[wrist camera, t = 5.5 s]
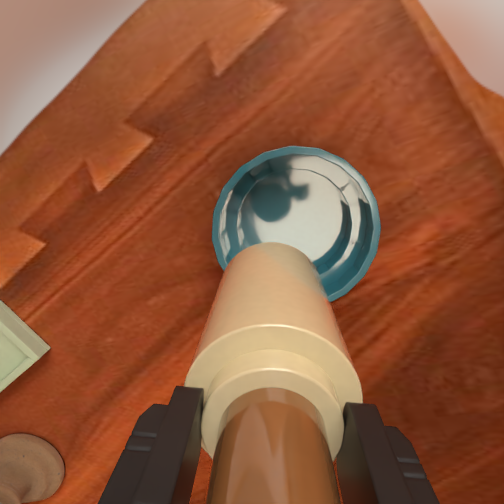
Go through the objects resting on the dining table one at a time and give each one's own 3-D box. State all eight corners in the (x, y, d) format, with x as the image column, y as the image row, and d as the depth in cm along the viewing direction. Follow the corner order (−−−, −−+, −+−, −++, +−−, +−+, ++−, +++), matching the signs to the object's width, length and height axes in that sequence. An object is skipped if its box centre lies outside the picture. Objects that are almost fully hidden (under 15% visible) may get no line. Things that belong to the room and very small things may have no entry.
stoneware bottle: (223, 237, 19) (95, 496, 5) (327, 246, 19) (493, 536, 5) (218, 332, 20) (106, 737, 6) (315, 340, 20) (415, 772, 6)
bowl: (224, 140, 34) (216, 139, 29) (376, 153, 33) (394, 154, 28) (216, 282, 37) (208, 302, 32) (353, 295, 37) (365, 317, 32)
